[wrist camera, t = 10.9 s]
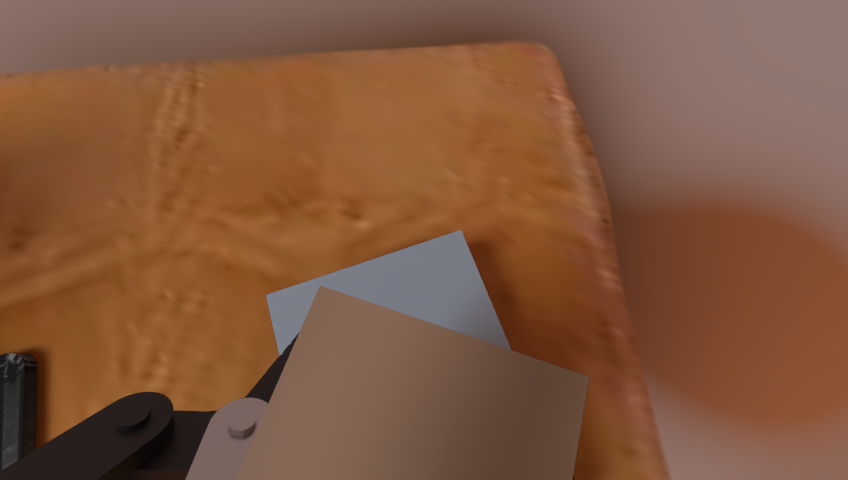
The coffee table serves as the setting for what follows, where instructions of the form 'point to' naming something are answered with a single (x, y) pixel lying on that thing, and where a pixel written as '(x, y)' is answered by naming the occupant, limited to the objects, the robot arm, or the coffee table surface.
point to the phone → (17, 407)
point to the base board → (403, 291)
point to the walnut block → (412, 404)
